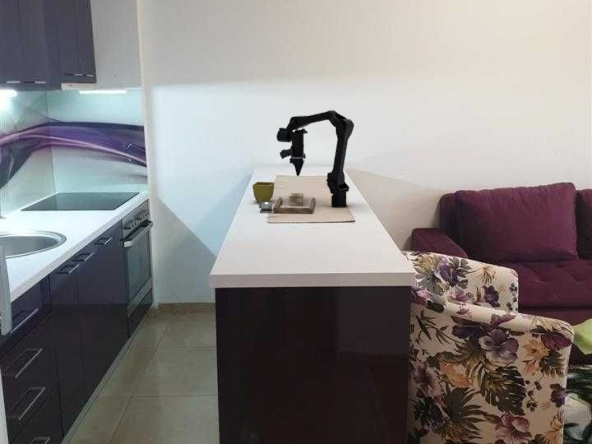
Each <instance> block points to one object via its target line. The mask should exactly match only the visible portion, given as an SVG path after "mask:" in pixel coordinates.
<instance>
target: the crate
mask: <svg viewBox="0 0 592 444" xmlns="http://www.w3.org/2000/svg"><path fill="white" fill-rule="evenodd" d="M304 194H305V193H302V192H290V193H289V196H288V197H289V207H304V206H303V205H304V196H305V195H304Z"/></svg>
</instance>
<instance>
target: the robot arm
mask: <svg viewBox="0 0 592 444" xmlns="http://www.w3.org/2000/svg"><path fill="white" fill-rule="evenodd" d="M288 121H289V122H288V123H287V125H286V127H278V131H277V133H276V140H277V142H279V143H291V146H290V148H288V149H285V148H284V149H281V151H280V152H279V156H280V158H281V160H284V159H285V158H287V157H290V158H289V164H292V165H293V166H294V170H295V174H296V176H297V177H299V176H300V174H301V171H302V169H303V166H304V163H305V159H306V157H307V156H306V153H305V144H304V143H305V139H304V138H305V134H308V133H309V132H308V131H307V130H306V128H305V127H307V126H309V125H311V124H314V123H315V124H316V123H320V122H323V121H329V123H330V124H331V125H332V126H333V127H335V136H336V137H337V140H336V147H335V153H334V159H333V165H332V169H331V171H330V172H327V176H326V179H325V182H326V185H327V188H328V189H329V192H330V194H332V195H331V196H330V197H331V200H330V201H331V202H330V203H331V207H333V208H347V204H348V203H347V193H349V191H350V186H349V185H348V184H347V183H346V176H345V172H344V169H345V168H344V167H345V160H346V154H347V148H348V143H349V142H348V141H349V139H350V137H351V135H352V134H353V131H354V127H355V124H354V123H355V122H353V120H351V119H349V118H347V117H345V116H344V115H342V114H341V113H339V112H337V111H336V110H333V109H331V110H327V111H323V112H319V113H314V114H310V115H296V116H291V117H290V118H289V120H288Z"/></svg>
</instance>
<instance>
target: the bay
mask: <svg viewBox="0 0 592 444" xmlns="http://www.w3.org/2000/svg"><path fill="white" fill-rule="evenodd" d="M282 205H283V197H278V199H277V200H276V203H275V204H274V206H272V209H273V211H272V213H273V214H286V213H287V214H289V215H290V214H295V215H297V214H299V215H300V214H301V215H302V214H303V215H305V214H306V215H307V214H308V215H309V214H311V215H313V213H314V209H315V207H316V197H311V200H310V203H309V207H281V206H282Z"/></svg>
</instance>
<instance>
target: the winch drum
mask: <svg viewBox="0 0 592 444" xmlns="http://www.w3.org/2000/svg"><path fill="white" fill-rule="evenodd" d="M258 209H260V210H259V213H260V214H272V213H273V203H272V201H269V202H261V198H259V203H258Z"/></svg>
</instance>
